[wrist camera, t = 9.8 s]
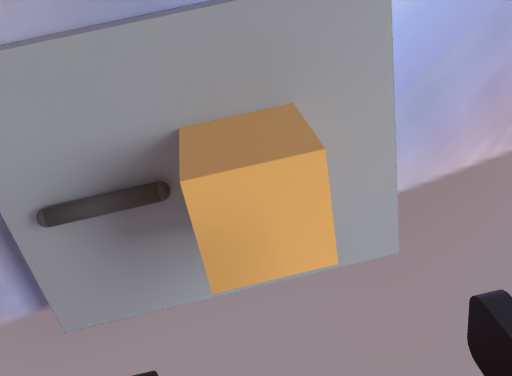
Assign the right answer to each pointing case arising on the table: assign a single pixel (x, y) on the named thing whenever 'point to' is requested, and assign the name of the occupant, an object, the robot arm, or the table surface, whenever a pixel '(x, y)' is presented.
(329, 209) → the orange toy cube
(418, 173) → the table surface
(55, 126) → the grey slider board
